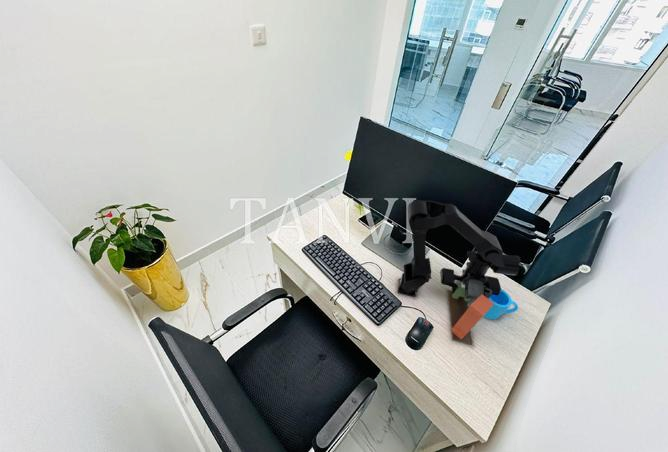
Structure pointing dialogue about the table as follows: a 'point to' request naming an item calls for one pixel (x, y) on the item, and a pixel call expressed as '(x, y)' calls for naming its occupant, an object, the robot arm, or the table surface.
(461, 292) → the green knobbly lump
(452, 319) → the board
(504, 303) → the mug
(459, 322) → the letter I
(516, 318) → the table surface
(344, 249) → the table surface
